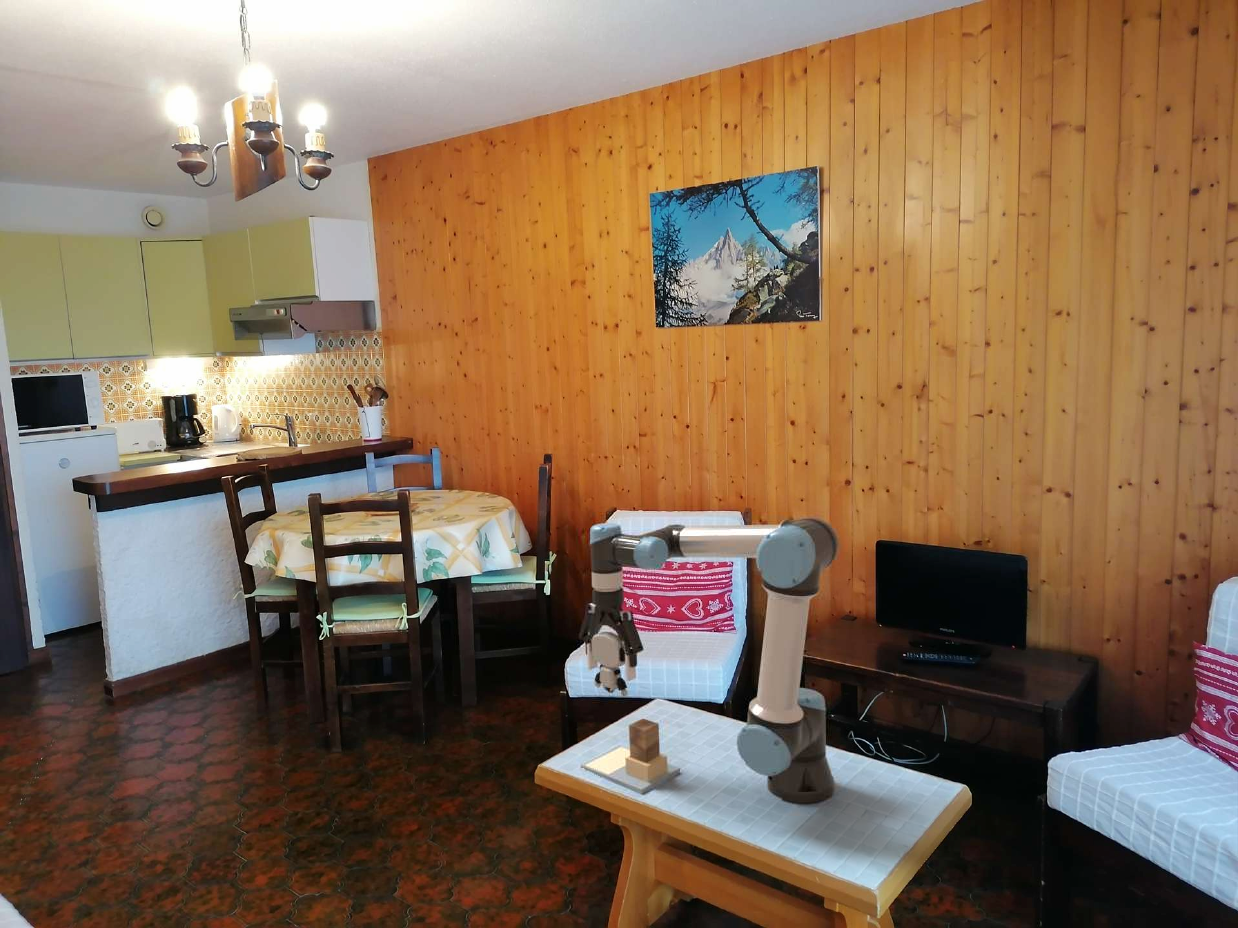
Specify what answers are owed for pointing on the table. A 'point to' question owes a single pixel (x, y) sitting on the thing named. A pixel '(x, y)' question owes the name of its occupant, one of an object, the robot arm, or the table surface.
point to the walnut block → (644, 740)
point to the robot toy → (609, 661)
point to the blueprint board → (632, 780)
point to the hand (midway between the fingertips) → (611, 673)
